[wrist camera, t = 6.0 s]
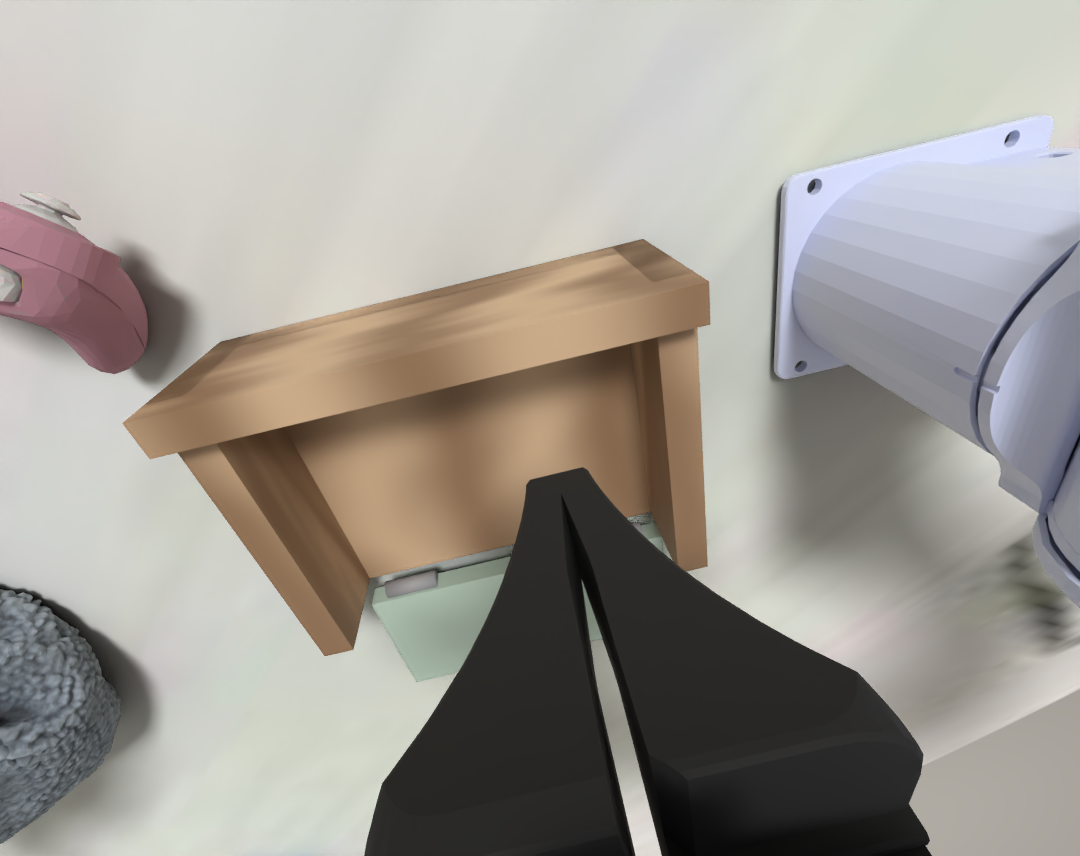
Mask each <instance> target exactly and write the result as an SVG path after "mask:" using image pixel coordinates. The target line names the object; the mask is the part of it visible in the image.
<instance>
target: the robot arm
mask: <svg viewBox="0 0 1080 856" xmlns="http://www.w3.org/2000/svg"><path fill="white" fill-rule="evenodd" d="M1053 127H1054V121H1053V118H1052V117H1051V116H1049V115H1037V116H1031V117H1027V118H1023V119H1019V120H1015V121H1011V122H1007V123H1003V124H999V125H994V126H990V127H986V128H982V129H978V130H974V131H970V132H966V133H962V134H957V135H953V136H949V137H945V138H941V139H937V140H933V141H929V142H925V143H921V144H916V145H912V146H908V147H904V148H900V149H896V150H892V151H888V152H884V153H880V154H875V155H871V156H867V157H863V158H859V159H855V160H851V161H847V162H843V163H838V164H834V165H830V166H826V167H822V168H818V169H814V170H810V171H806V172H802V173H797V174H795V175H792V176H790V177H789V178H788V179H787V180H786V181H785V183H784V185H783V187H782V192H781V212H780V235H779V258H778V281H777V304H776V327H775V350H774V372H775V374H776V375H777V376H778V377H780V378H782V379H791V378H795V377H799V376H803V375H807V374H812V373H816V372H820V371H824V370H828V369H832V368H837V367H841V366H845V365H850V366H851V367H853V368H854V369H856V370H857V371H859V372H861V373H862V374H864V375H865V376H867V377H869V378H870V379H872V380H873V381H875V382H877V383H878V384H880V385H881V386H883V387H885V388H886V389H888V390H889V391H891V392H893V393H894V394H896V395H897V396H899V397H901V398H902V399H904V400H905V401H907V402H909V403H910V404H912V405H913V406H915V407H916V408H918V409H920V410H921V411H923V412H924V413H926V414H928V415H929V416H931V417H932V418H934V419H936V420H937V421H939V422H940V423H942V424H944V425H945V426H947V427H948V428H950V429H952V430H953V431H955V432H956V433H958V434H960V435H961V436H963V437H964V438H966V439H968V440H969V441H971V442H972V443H974V444H975V445H977V446H979V447H980V448H982V449H983V450H985V451H987V452H988V453H990V454H992V455H993V456H995V458H996V459H997V460H998V462H999V464H1000V468H1001V475H1000V479H999V486H1000V487H1001V488H1003V489H1004V490H1006V491H1007V492H1009V493H1010V494H1011V495H1013V496H1014V497H1016V498H1017V499H1019V500H1020V501H1022V502H1023V503H1025V504H1026V505H1028V506H1029V507H1031V508H1032V509H1034V510H1035V511H1037V512H1038V513H1039V515H1038V516H1037V518H1036V521H1035V524H1034V526H1033V545H1034V548H1035V552H1036V555H1037V558H1038V560H1039V562H1040V563H1041V565H1042V567H1043V568H1044V570H1045V572H1046V573H1047V575H1048V576H1049V577H1050V578H1051V579H1052V581H1053V582H1054V583H1055V584H1056V585H1057V586H1058V588H1059V589H1060V590H1061V591H1062V592H1063V593H1064V594H1065V595H1066V596H1067V597H1068V598H1069V599H1071V600H1072V601H1073V602H1074V603H1075V604H1076V605H1077V606H1078V607H1079V608H1080V148H1051V147H1048V145H1049V142H1050V138H1051V135H1052V132H1053ZM1008 134H1009V139H1008V141H1007V142H1006V143H1005V144H1004V141H1005V139H1006V136H1007V135H1008ZM813 179H814V180H815V187H814V189H813V190H812V192H810V193H808V191H807V187H808V184H809V183H810V182H811V180H813ZM800 361H802V363H801V365H800V366H799V367H797V368H795V366H796V364H797V363H798V362H800ZM582 582H583V585H584V587H585V590H586V593H587V596H588V599H589V602H590V605H591V607H592V610H593V613H594V616H595V619H596V622H597V624H598V627H599V630H600V633H601V636H602V639H603V642H604V644H605V647H606V650H607V653H608V656H609V659H610V661H611V664H612V667H613V670H614V674H615V677H616V680H617V683H618V687H619V690H620V694H621V698H622V702H623V705H624V709H625V713H626V717H627V721H628V725H629V729H630V733H631V736H632V740H633V744H634V748H635V752H636V756H637V760H638V764H639V768H640V772H641V775H642V779H643V783H644V787H645V791H646V795H647V799H648V803H649V807H650V811H651V815H652V818H653V822H654V826H655V830H656V834H657V838H658V842H659V846H660V850H661V854H662V856H932V855H931V854H930V852H929V851H928V849H927V847H926V846H925V845H927V844H928V843H929V841H930V840H929V837H928V834H927V832H926V830H925V829H924V827H923V826H922V824H921V822H920V821H919V819H918V818H917V816H916V815H915V813H914V812H913V810H912V809H911V807H910V805H909V801H910V799H911V797H912V794H913V792H914V789H915V787H916V784H917V782H918V780H919V777H920V775H921V768H922V761H923V753H922V751H921V749H920V747H919V746H918V744H917V742H916V741H915V739H914V738H913V737H912V735H911V734H910V732H909V731H908V730H907V728H906V727H905V726H904V724H903V723H902V722H901V720H900V719H899V718H898V716H897V715H896V714H895V713H894V712H893V711H892V709H891V708H890V707H889V706H888V705H887V704H886V703H885V702H884V700H883V699H882V698H881V697H880V696H879V695H878V694H877V693H876V692H875V690H874V689H873V688H872V687H871V686H870V685H869V684H868V683H867V682H866V681H865V680H864V679H863V677H862V676H861V675H860V674H859V673H858V672H856V671H854V670H852V669H850V668H848V667H846V666H844V665H842V664H840V663H838V662H836V661H834V660H831V659H829V658H827V657H825V656H823V655H821V654H819V653H817V652H815V651H813V650H811V649H809V648H807V647H805V646H803V645H801V644H800V643H798V642H796V641H794V640H792V639H790V638H788V637H787V636H785V635H783V634H781V633H780V632H778V631H776V630H774V629H772V628H771V627H769V626H767V625H765V624H764V623H762V622H760V621H759V620H757V619H755V618H754V617H752V616H751V615H749V614H747V613H746V612H744V611H743V610H741V609H740V608H738V607H736V606H735V605H733V604H732V603H730V602H729V601H727V600H725V599H724V598H722V597H721V596H719V595H717V594H716V593H715V592H713V591H712V590H710V589H709V588H708V587H706V586H705V585H703V584H702V583H701V582H699V581H698V580H696V579H695V578H694V577H692V576H691V575H690V574H688V573H687V572H686V571H685V570H683V569H682V568H681V567H679V566H678V565H677V564H676V563H674V562H673V561H672V560H671V559H670V558H668V557H667V556H666V555H665V554H664V553H662V552H661V551H660V550H659V549H658V548H657V547H656V546H655V545H653V544H652V543H651V542H650V541H649V540H648V539H647V538H646V537H645V536H644V535H643V534H642V533H640V532H639V531H638V530H637V529H636V528H635V527H634V526H633V525H632V524H631V523H630V521H629V520H628V519H627V518H626V517H625V516H624V515H623V514H622V513H621V512H620V511H619V510H618V509H617V508H616V507H615V505H614V504H613V503H612V502H611V501H610V500H609V498H608V497H607V496H606V495H605V494H604V492H603V491H602V490H601V489H600V487H599V486H598V485H597V483H596V482H595V480H594V479H593V477H592V476H591V474H590V473H589V471H588V470H587V469H585V468H583V467H581V468H577V469H573V470H568V471H564V472H560V473H556V474H552V475H548V476H543V477H539V478H535V479H531V480H529V482H528V483H527V484H526V495H525V502H524V508H523V513H522V518H521V522H520V526H519V530H518V534H517V537H516V541H515V545H514V548H513V552H512V555H511V558H510V560H509V563H508V566H507V569H506V572H505V575H504V578H503V581H502V583H501V586H500V588H499V591H498V593H497V596H496V598H495V601H494V603H493V605H492V607H491V610H490V612H489V614H488V616H487V618H486V621H485V623H484V625H483V627H482V629H481V631H480V633H479V635H478V637H477V639H476V641H475V642H474V644H473V646H472V648H471V650H470V652H469V654H468V656H467V658H466V660H465V661H464V663H463V665H462V667H461V668H460V670H459V672H458V674H457V675H456V677H455V678H454V680H453V682H452V683H451V685H450V686H449V688H448V690H447V691H446V693H445V694H444V696H443V698H442V699H441V701H440V702H439V704H438V706H437V707H436V709H435V710H434V712H433V714H432V715H431V717H430V718H429V720H428V721H427V723H426V724H425V726H424V727H423V728H422V730H421V731H420V733H419V734H418V735H417V737H416V738H415V739H414V741H413V742H412V744H411V745H410V746H409V748H408V749H407V750H406V752H405V753H404V755H403V756H402V757H401V759H400V760H399V762H398V763H397V764H396V766H395V767H394V768H393V770H392V771H391V773H390V774H389V775H388V776H387V778H386V779H385V781H384V782H383V783H382V786H381V790H380V793H379V796H378V800H377V804H376V807H375V811H374V815H373V819H372V824H371V827H370V831H369V835H368V839H367V844H366V849H365V855H364V856H635V852H634V847H633V843H632V839H631V834H630V830H629V826H628V821H627V817H626V813H625V808H624V804H623V799H622V795H621V791H620V786H619V782H618V778H617V773H616V769H615V764H614V760H613V756H612V751H611V747H610V743H609V738H608V734H607V729H606V725H605V721H604V716H603V712H602V707H601V703H600V699H599V694H598V689H597V683H596V677H595V672H594V665H593V657H592V650H591V643H590V636H589V629H588V621H587V614H586V607H585V600H584V593H583V586H582Z"/></svg>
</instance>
